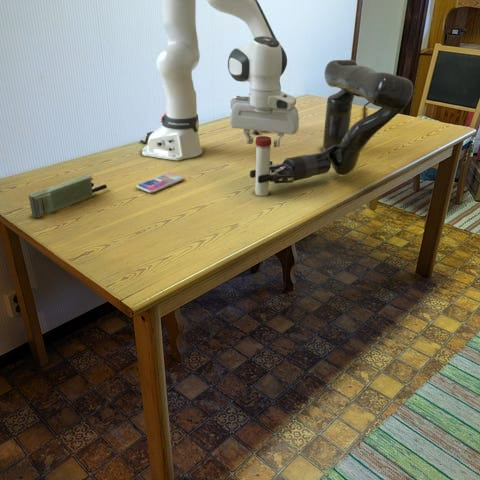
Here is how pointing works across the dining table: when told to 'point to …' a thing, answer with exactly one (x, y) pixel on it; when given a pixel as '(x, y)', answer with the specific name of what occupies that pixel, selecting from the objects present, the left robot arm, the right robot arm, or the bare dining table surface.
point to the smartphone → (159, 182)
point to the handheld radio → (62, 195)
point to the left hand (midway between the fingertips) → (263, 145)
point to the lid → (263, 141)
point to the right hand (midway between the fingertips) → (254, 177)
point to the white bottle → (262, 169)
